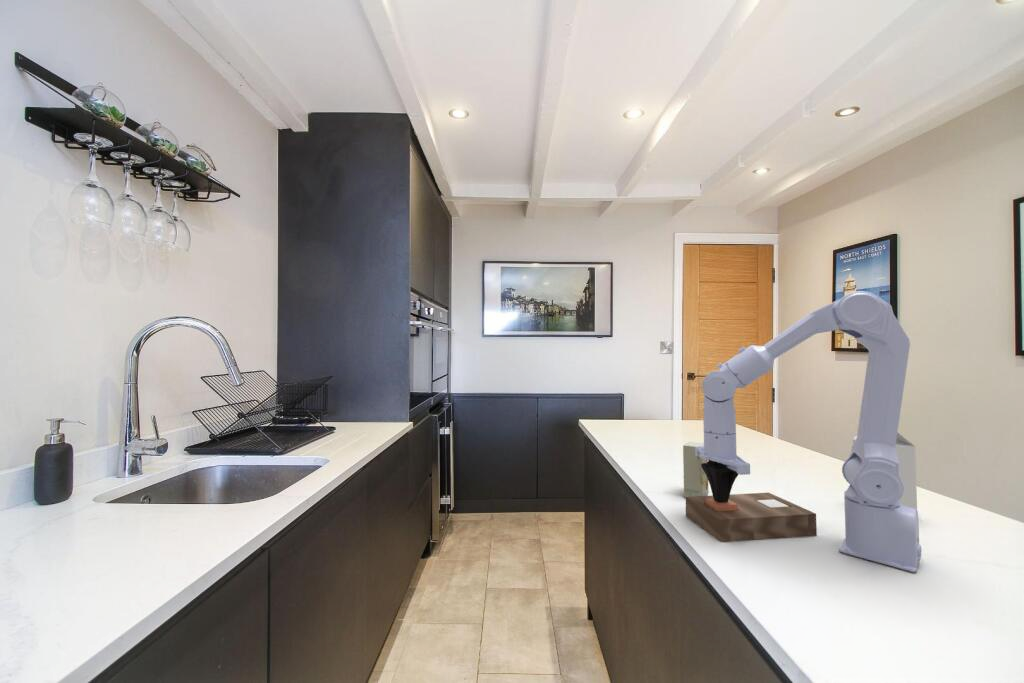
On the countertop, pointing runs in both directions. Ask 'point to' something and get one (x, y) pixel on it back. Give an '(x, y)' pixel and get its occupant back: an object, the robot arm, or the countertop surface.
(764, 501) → the grey button
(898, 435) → the milk carton
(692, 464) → the skincare box
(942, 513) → the countertop surface
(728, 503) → the terracotta button
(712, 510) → the button block
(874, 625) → the countertop surface
